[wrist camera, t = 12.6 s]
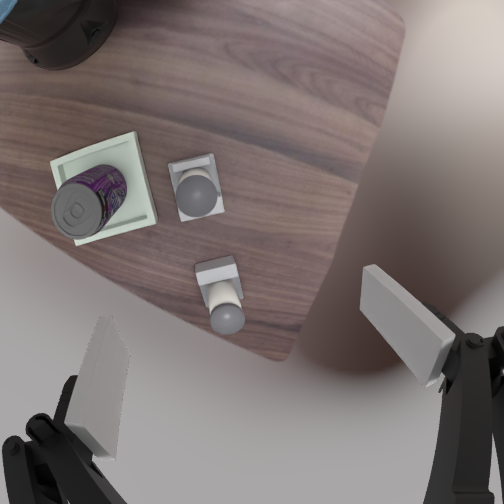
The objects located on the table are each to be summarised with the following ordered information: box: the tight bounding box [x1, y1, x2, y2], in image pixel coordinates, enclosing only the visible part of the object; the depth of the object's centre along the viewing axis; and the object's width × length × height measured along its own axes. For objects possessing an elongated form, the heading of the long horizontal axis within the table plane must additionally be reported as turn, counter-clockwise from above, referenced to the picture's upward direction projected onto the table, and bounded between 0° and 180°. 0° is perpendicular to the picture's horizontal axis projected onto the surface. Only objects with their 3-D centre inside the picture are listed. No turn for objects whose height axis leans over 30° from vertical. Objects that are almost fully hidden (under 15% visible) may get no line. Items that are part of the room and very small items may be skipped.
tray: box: [50, 131, 158, 246], centre depth 37 cm, size 13×13×2 cm
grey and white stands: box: [168, 153, 245, 334], centre depth 39 cm, size 24×6×10 cm, turn 10°
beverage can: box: [51, 164, 127, 240], centre depth 32 cm, size 7×7×12 cm
